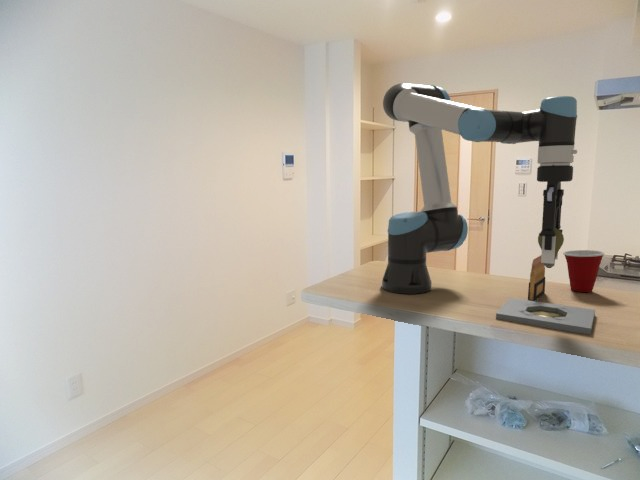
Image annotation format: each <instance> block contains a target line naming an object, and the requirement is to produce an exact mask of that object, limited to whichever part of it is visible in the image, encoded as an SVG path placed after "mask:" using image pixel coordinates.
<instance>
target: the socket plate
mask: <svg viewBox="0 0 640 480" xmlns="http://www.w3.org/2000/svg"><path fill="white" fill-rule="evenodd" d="M595 317H596V309H592V308H586V307H578V306H572V305H571V306H570V305H564V304H555V303H551V302H541V301H537V300H536V301H531V300H528V299H521V298H513V297H510V298H508V300H507V301H506V302H505V303H504V304H503V305H502V306H501V308H499V310H498V311H497V312H496V313H495V319H498V320H503V321H508V322H515V323H519V324H526V325H530V326H536V327H541V328H548V329H553V330H559V331H565V332H571V333H577V334H583V335H589V336H591V334H592V330H593V329H592V328H593V325H594V320H595Z"/></svg>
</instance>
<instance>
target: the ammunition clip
mask: <svg viewBox="0 0 640 480" xmlns="http://www.w3.org/2000/svg"><path fill="white" fill-rule="evenodd" d="M527 290H528V293H527V300H529V301H536V302H537V300H538V299H539V298H541V297H542V296H543V295H545V292H546V266H545V265H544V263H541V255H539V256H537V257H535V258H534V259H533V260H532V263H531V269H530V275H529V282H528V289H527Z"/></svg>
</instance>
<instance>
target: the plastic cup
mask: <svg viewBox="0 0 640 480" xmlns="http://www.w3.org/2000/svg"><path fill="white" fill-rule="evenodd" d="M562 254H563V255H564V257H565V260H566V266H567V271H568V272H567V273H568V279H569V286H570V290H572V291H575V292H579V293H580V292H581V293H591V292H593V290H594V287H595V283H596V281H597V278H598V277H597V276H598V273H599V269H600V266H601V262H602V260H603V257H604V255H605V252H604V251H599V250H590V249H589V250H588V249H585V250H581V249H580V250H567V251H563V252H562Z"/></svg>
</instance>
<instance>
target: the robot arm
mask: <svg viewBox="0 0 640 480" xmlns="http://www.w3.org/2000/svg"><path fill="white" fill-rule="evenodd" d="M451 100H452V99H451V97H450V95H449V93H448V92H447V91H446V90H445V89H444V88H442V87H440V86H436V85H432V84H428V85H426V84H418V83H417V84H416V83H408V82H404V83H403V82H402V83H398V84H394V85H392V86H391V87H390V88H389V89H387V91H386V92H385V94H384V96H383V99H382V107H383V110H384V112H385V114H386V116H388V117H389V118H390V119H392V120H393V121H398V122H407V123H408V129H409V130H408V131H409V132H411V133H412V134H413V135H414V137H415V145H416V146H415V147H416V153H417V154H416V155H417V163H418V169H419V176H420V183H421V185H420V186H421V192H422V200H423V207H422V208H421V210H420V211H410V212H409V211H408V212H401V213H397V214H394V215H392V216H391V217H390V218H389V220H388V225H387V227H388V228H387V237H388V238H387V264H386V268H385V270H384V273H383V274H384V275H383V276H382V282H381V284H382V285H381V287H382V289H383V290H385V291H387V292H390V293H394V294H395V293H396V294H403V295H405V294H406V295H410V294H411V295H412V294H424V293H427V292H429V291H431V290H432V279H431V275H430V273H429V270H428V266H427V254H428V253H435V252H448V251H451V250H455V249H458V248H459V247H461V246H462V245H463V243H464V242H465V241H466V239H467V236H468V231H469V228H468V221H467V219H466V218H464V216H463V215H462V214H460V213H459V211H458V207H457V205H456V204H454V203H453V202H452V197H451V191H450V181H449V175H448V174H449V173H448V167H447V161H446V160H447V159H446V153H445V146H444V137H443V131H445V132H448V133H453V134H455V135H460V137H461V138H462V139H464V141H465V140H466V141H469V142H474V143H480V142H481V143H483V142H486V143H488V142H489V143H494V142H495V143H501V144H505V145H506V144H509V145H510V144H511V145H516V144H520V143H529V142H530V143H531V142H538V146H537V147H538V149H537V162H536V163H537V164H538V165H539V166H538V167H536V169H537V171H536V181H537V182H539V183H545V182H546V189H543V192H542V196H543V201H542V202H543V205H542V206H543V207H542V208H543V209H542V219H541V221H542V222H541V231H540V232H541V233H540V232H538V236H543V238H542V250H541V254H540V256H541V263H550V264H554V257H555V241H556V236H555V228H556V229H558V230H560V231H561V232H562V233H563V231H564V230H563V229H561V227H562V226H561V222H562V221H561V217H562V206H563V197H564V194H565V193H564V192H565V190H564V189H562V182H564V183H565V182H571V181H573V178H574V174H573V173H574V166H573V165H571V164H573V163H574V159H575V158H574V157H575V156H574V155H577V154H578V150H577V149H575V141H576V140H575V138H576V128H577V127H576V126H577V119H578V114H577V112H578V108H577V106H578V102H577V101H578V99H576V98H575V97H574V96H569V95H561V96H560V95H559V96H552V97H551V96H550V97H547V98H544V99H542V100H541V102H540V106H539V108H538V109H535V110H528V111H512V110H511V111H509V110H499V109H498V110H496V109H488V108H483V107H478V106H474V105H468V104H466V103H460V102H455V101H451ZM558 254H559V253H558ZM558 254H557V256H556V258H555V261H556V260H558V259H559V258H558Z"/></svg>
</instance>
